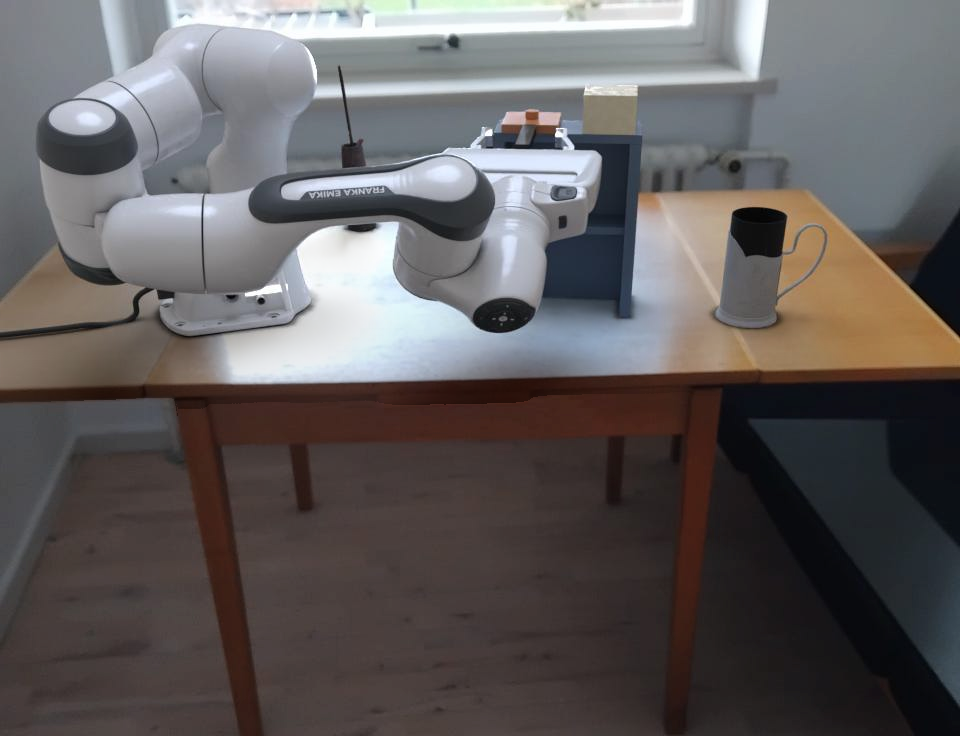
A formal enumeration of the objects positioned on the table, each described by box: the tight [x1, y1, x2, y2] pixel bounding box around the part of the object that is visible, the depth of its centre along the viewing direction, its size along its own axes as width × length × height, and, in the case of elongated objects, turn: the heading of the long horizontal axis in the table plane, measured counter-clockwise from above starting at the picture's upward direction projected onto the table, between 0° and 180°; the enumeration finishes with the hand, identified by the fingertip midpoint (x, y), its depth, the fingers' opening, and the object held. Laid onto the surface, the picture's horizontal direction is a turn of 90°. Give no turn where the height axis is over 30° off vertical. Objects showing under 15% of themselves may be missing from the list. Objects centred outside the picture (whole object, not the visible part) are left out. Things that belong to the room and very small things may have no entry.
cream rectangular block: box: [582, 83, 639, 135], centre depth 138 cm, size 7×7×5 cm
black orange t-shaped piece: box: [501, 108, 562, 149], centre depth 135 cm, size 18×8×2 cm, turn 173°
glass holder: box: [715, 206, 828, 329], centre depth 145 cm, size 9×14×15 cm, turn 88°
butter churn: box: [337, 64, 378, 232], centre depth 180 cm, size 9×10×28 cm
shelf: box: [493, 118, 644, 319], centre depth 147 cm, size 8×20×26 cm, turn 82°
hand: (524, 131), depth 131 cm, fingers open, 8 cm apart
